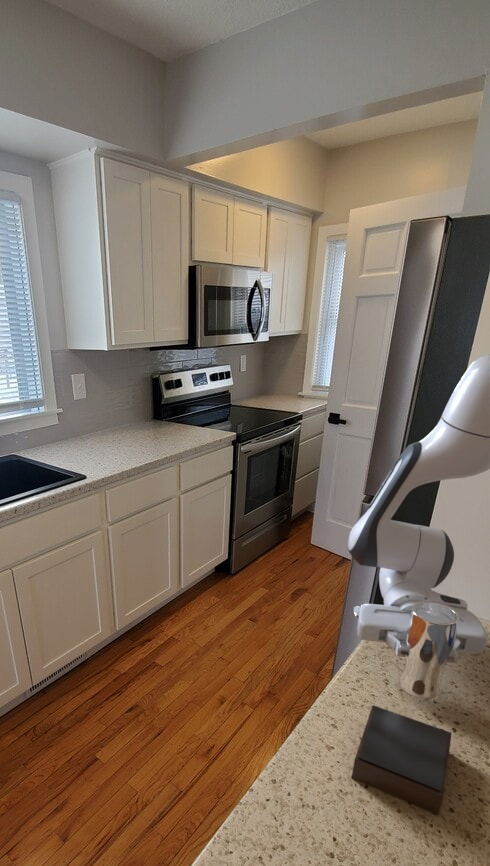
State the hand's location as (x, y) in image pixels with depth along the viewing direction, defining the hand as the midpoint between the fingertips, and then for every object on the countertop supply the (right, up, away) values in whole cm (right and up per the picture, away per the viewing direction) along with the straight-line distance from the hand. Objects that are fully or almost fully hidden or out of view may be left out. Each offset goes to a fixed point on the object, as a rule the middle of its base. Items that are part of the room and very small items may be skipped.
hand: (427, 656), depth 79 cm
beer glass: (+1, -6, +4) cm, 7 cm away
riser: (-8, -14, -8) cm, 18 cm away
